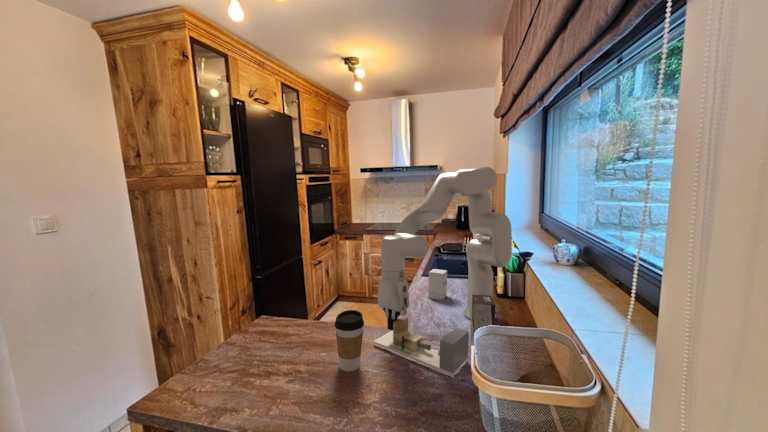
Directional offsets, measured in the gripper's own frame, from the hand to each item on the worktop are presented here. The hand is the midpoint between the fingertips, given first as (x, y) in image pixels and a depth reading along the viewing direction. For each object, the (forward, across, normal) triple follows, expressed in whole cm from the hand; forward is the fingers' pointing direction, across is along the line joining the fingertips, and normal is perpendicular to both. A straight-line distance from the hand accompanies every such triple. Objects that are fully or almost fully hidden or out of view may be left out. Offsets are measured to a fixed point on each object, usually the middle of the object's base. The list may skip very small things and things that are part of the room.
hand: (392, 328), depth 100 cm
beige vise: (+5, -10, 0) cm, 11 cm away
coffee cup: (+5, +2, +18) cm, 19 cm away
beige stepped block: (+3, -8, +1) cm, 9 cm away
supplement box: (+5, +10, -49) cm, 50 cm away
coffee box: (+5, -24, -16) cm, 29 cm away
